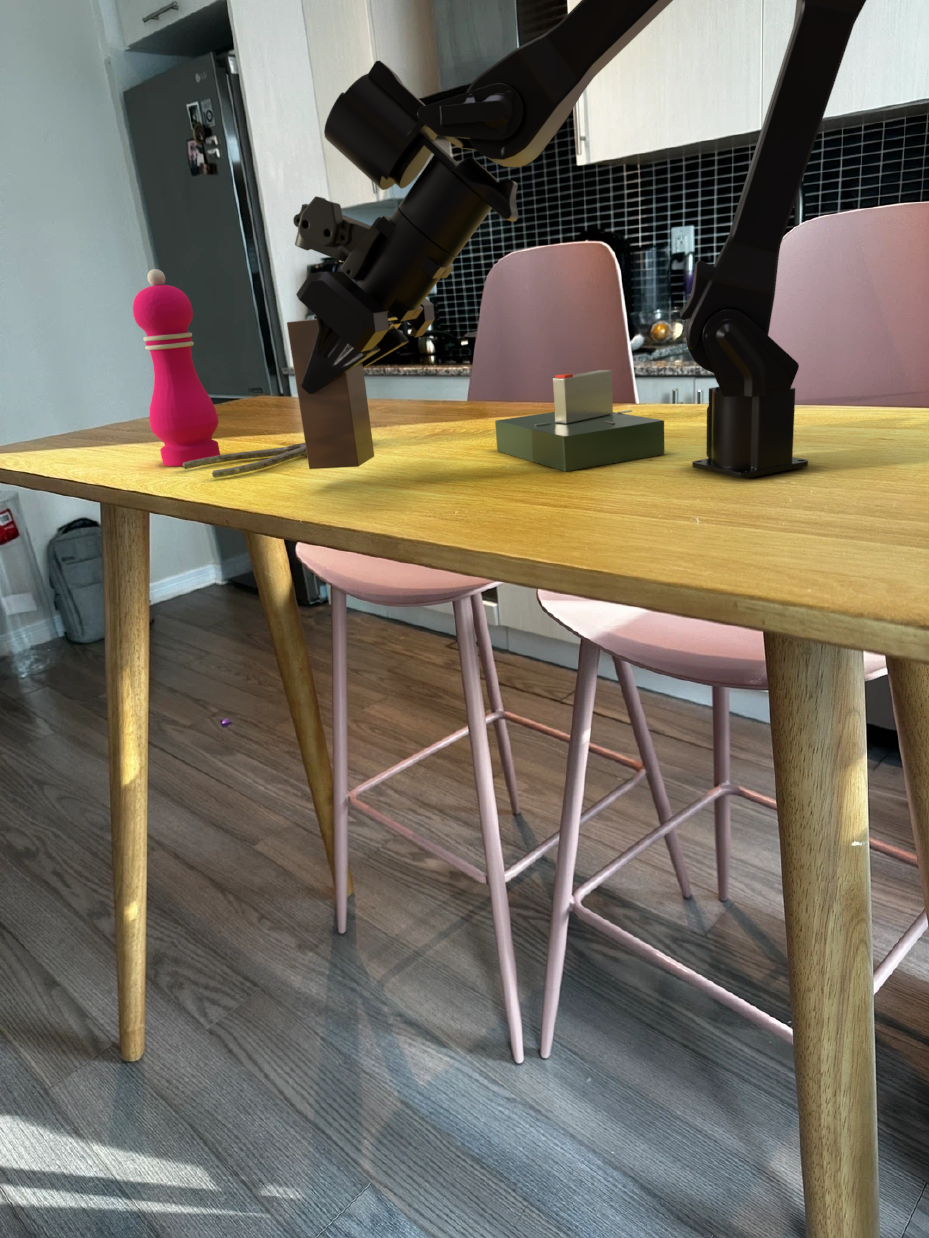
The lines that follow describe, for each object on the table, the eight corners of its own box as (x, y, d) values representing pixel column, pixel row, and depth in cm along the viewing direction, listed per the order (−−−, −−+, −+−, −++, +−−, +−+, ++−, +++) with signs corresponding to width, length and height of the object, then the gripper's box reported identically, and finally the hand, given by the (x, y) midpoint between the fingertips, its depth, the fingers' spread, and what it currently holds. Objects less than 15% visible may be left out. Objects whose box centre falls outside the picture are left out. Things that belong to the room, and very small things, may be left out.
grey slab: (601, 413, 84) (599, 367, 83) (613, 414, 83) (611, 367, 82) (554, 423, 81) (552, 375, 80) (566, 424, 80) (564, 375, 78)
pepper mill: (189, 468, 94) (149, 267, 87) (144, 466, 98) (103, 273, 91) (238, 455, 99) (205, 265, 93) (194, 454, 103) (159, 271, 96)
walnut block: (374, 456, 79) (356, 314, 74) (358, 466, 74) (338, 317, 70) (327, 459, 80) (307, 319, 75) (308, 469, 76) (286, 322, 71)
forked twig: (167, 465, 91) (318, 431, 105) (168, 473, 91) (319, 438, 105) (219, 471, 85) (372, 434, 98) (221, 480, 85) (373, 442, 99)
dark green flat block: (675, 452, 79) (674, 416, 78) (565, 471, 75) (563, 434, 74) (594, 435, 91) (593, 404, 90) (497, 451, 87) (494, 419, 86)
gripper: (384, 172, 77) (286, 317, 83) (302, 144, 60) (188, 329, 66) (480, 260, 77) (377, 397, 84) (427, 257, 60) (302, 429, 67)
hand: (316, 387), depth 75 cm, fingers closed on walnut block, 4 cm apart
